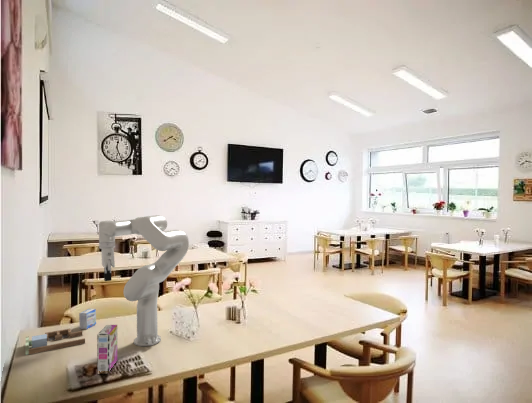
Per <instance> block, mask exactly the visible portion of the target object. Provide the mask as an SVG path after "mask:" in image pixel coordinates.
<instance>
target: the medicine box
mask: <svg viewBox="0 0 532 403" xmlns="http://www.w3.org/2000/svg"><path fill="white" fill-rule="evenodd" d="M78 316H79V319H78V320H79V329H80V330H89V329H90V328H92V327H94V326H95V324H96V325H97V310H96V308H88V309H85V310H83V311H81V312H79V314H78ZM88 328H89V329H88Z"/></svg>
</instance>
